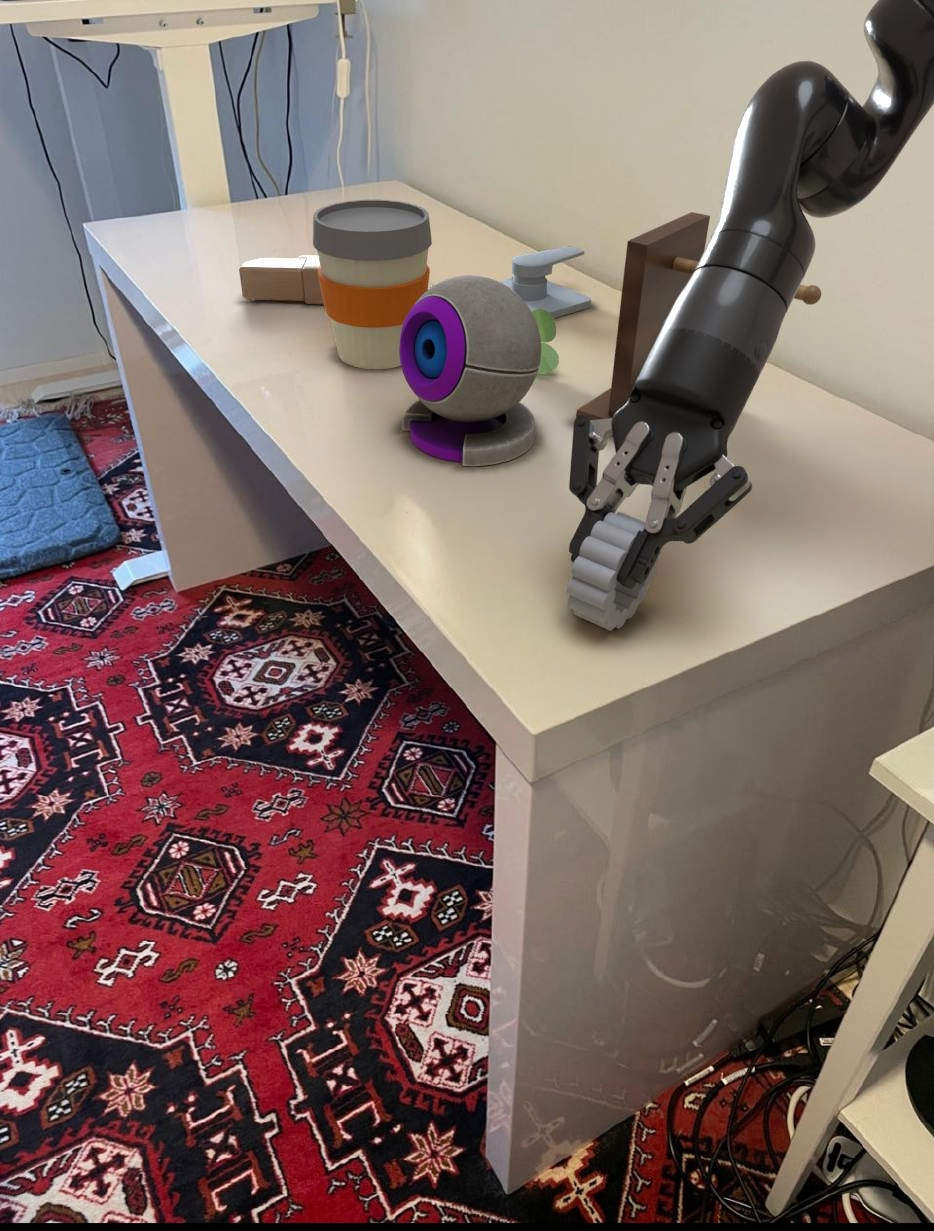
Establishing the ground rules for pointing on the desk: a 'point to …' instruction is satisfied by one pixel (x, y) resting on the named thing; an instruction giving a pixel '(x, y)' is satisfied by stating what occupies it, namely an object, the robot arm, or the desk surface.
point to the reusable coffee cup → (371, 274)
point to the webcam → (470, 371)
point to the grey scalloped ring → (606, 573)
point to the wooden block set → (282, 279)
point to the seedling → (546, 340)
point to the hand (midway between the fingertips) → (601, 574)
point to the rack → (655, 300)
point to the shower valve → (545, 282)
